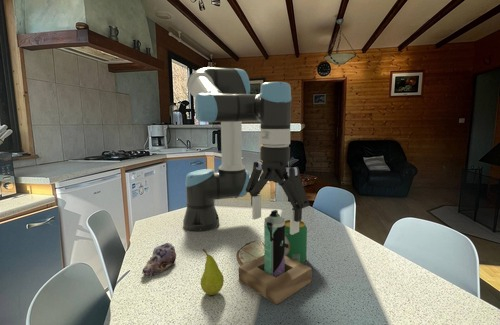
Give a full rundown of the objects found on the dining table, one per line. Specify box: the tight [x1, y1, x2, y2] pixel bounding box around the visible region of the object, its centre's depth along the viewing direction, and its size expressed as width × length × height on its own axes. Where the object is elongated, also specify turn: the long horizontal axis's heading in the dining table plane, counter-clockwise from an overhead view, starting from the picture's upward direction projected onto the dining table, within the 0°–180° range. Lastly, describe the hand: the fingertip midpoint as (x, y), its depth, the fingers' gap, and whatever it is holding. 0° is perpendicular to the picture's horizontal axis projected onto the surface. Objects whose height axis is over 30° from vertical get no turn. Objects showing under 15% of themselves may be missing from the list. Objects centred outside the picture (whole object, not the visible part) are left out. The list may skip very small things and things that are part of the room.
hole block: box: [237, 254, 313, 306], centre depth 74 cm, size 14×14×4 cm
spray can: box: [263, 209, 286, 278], centre depth 73 cm, size 6×6×20 cm
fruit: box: [200, 248, 224, 296], centre depth 68 cm, size 6×6×12 cm
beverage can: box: [284, 219, 308, 264], centre depth 85 cm, size 8×8×12 cm
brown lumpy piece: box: [142, 242, 177, 278], centre depth 81 cm, size 12×8×6 cm, turn 152°
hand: (274, 225), depth 72 cm, fingers open, 13 cm apart
